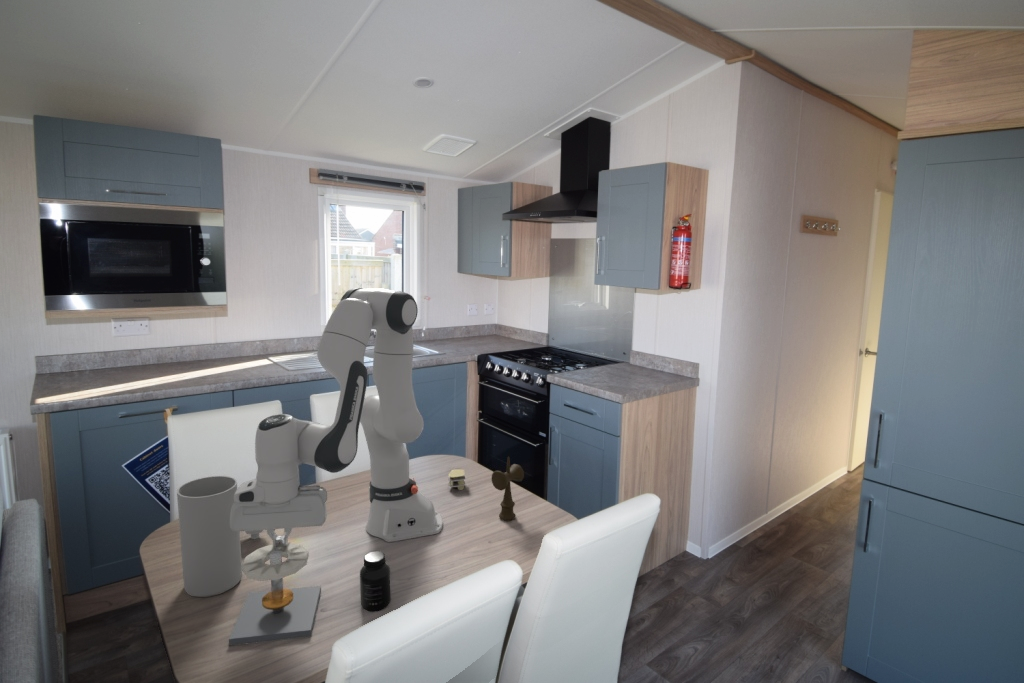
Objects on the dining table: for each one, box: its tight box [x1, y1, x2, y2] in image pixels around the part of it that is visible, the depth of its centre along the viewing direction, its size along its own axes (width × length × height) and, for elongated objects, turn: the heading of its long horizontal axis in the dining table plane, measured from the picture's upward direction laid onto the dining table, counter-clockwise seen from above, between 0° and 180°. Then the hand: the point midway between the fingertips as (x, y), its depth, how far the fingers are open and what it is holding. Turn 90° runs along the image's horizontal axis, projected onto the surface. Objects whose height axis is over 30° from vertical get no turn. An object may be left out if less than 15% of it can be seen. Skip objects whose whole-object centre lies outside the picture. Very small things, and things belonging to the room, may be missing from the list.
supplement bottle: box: [359, 550, 392, 613], centre depth 127 cm, size 7×7×12 cm
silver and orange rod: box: [262, 549, 293, 614], centre depth 121 cm, size 6×6×14 cm
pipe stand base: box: [228, 585, 322, 646], centre depth 122 cm, size 16×16×2 cm
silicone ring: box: [242, 541, 310, 582], centre depth 120 cm, size 13×13×1 cm
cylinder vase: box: [176, 475, 243, 598], centre depth 132 cm, size 12×12×25 cm
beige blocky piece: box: [447, 468, 466, 491], centre depth 193 cm, size 10×9×6 cm
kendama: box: [491, 456, 525, 521], centre depth 169 cm, size 6×10×20 cm, turn 140°
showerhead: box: [244, 530, 264, 540], centre depth 156 cm, size 9×7×10 cm
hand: (280, 544), depth 125 cm, fingers closed
